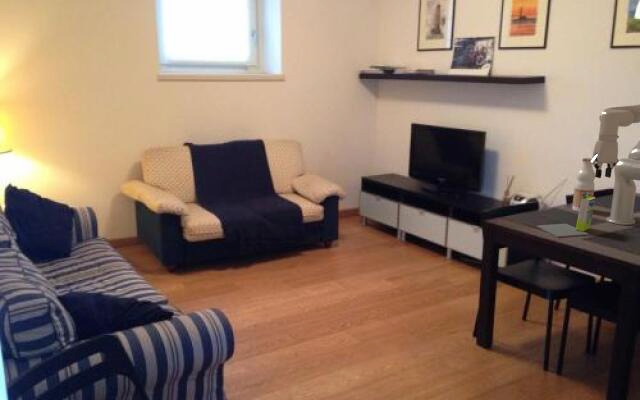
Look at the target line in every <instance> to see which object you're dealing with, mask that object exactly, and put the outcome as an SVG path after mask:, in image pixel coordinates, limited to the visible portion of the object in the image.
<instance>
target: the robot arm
mask: <svg viewBox="0 0 640 400" xmlns="http://www.w3.org/2000/svg"><path fill="white" fill-rule="evenodd" d="M599 122H600V123H599V125H600V126H599V134H598V139H597V140H596V142H595V144H594V147H593V153H592V158H591V159H592V161H591V162H590V163H591V164H592V167H593V168H594V169H595V178H598V179H601V178H602V173H603V172H602V171H603V170H602V167H603V164H606V168H605V172H604V177H606V178H612V176H611V175H612V170H613V171H614V186H613V187H614V188H613V192H612V193H613V194H612V201H611V209H610V216H607V217H606V221H607V222H609V223H611V224H615V225H622V226H631V225H634V224H636V220H635V218H636V219H639V218H640V213H634V207H635V199H636V193H637V186H636V183H635V181H640V140H638V141H637V143H636V144H635V146H633V148H632V149H631V150H630V152H629V153H628V155H627V158H620V159H619V158H618V157H619V156H618V155H619V142H618V139H619V137H620V136H619V135H618V133H619V127H622V128H623V127H624V128H626V127H630V126H631V125H632V124H638V123H640V104H636V105H635V104H634V105H624V106H615V107H614V106H613V107H607V108H605V109H603V110H602V111H601V112H600V114H599Z"/></svg>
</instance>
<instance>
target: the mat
mask: <svg viewBox="0 0 640 400" xmlns="http://www.w3.org/2000/svg"><path fill="white" fill-rule="evenodd" d="M536 226H537V227H536V228H538V227H539V228H538V229H540V228H541V229H540V230H542V231H544V232H546V233H548V234H550V235H551V236H554V237H555V238H569V237H570V238H571V237H581V236H582V237H583V236H589V235H590V234H589V233H588V232H586V231H579V230H576V227H575V226H573V225H570V224H568V223H556V224H555V223H554V224H541V225H540V224H539V225H536Z"/></svg>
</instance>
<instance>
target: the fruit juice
mask: <svg viewBox="0 0 640 400" xmlns="http://www.w3.org/2000/svg"><path fill="white" fill-rule="evenodd" d="M591 161H592V158H589V157H583V158H582V161H581V162H582V163H581V166H579V170H577V172H576V175H575V176H576V181H575V184H574V190H573V199H572V208H571V209H572V210H573V211H575V212H578V213H579V210H580V204H581V199H582V194H584V193H587V192H589V195H588V196H591V197H594V192H595V179H596V177H595V174H596V171H595V170H594V166H593V165H592V164H591V163H590V162H591ZM585 196H586V195H585Z"/></svg>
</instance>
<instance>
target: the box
mask: <svg viewBox="0 0 640 400" xmlns="http://www.w3.org/2000/svg"><path fill="white" fill-rule="evenodd" d="M585 195H586V196H585ZM588 195H589V192H587V193H584V194H582V199H581V204H580V210H579V212H578V215H577V221H576V227H575V228H576V230H579V231H584V232H586V231H587V230H589V229H590V227H591V222H592V219H593V218H592V217H593V213H594V207H595V203H596V197H595V196H593V197H591V196H588Z"/></svg>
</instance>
